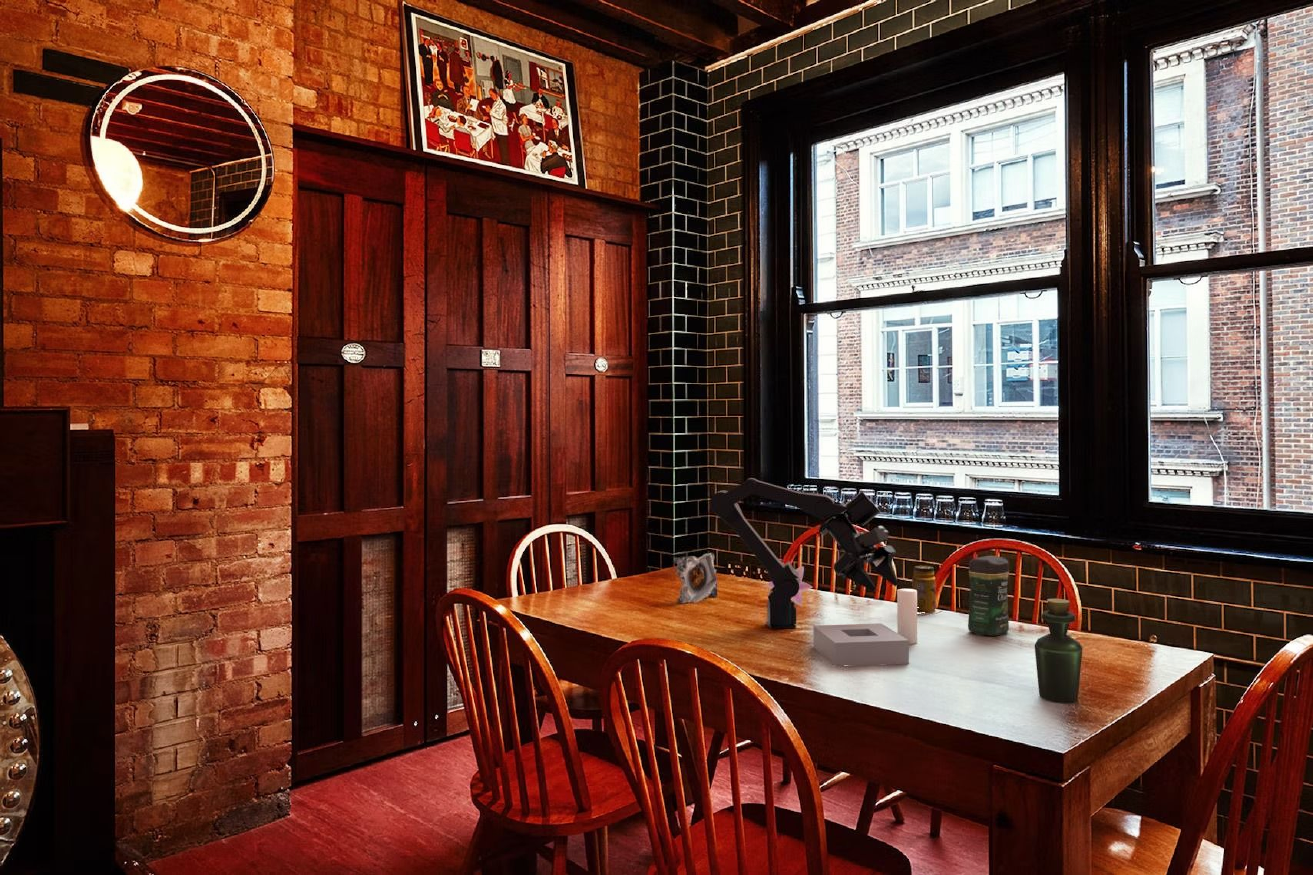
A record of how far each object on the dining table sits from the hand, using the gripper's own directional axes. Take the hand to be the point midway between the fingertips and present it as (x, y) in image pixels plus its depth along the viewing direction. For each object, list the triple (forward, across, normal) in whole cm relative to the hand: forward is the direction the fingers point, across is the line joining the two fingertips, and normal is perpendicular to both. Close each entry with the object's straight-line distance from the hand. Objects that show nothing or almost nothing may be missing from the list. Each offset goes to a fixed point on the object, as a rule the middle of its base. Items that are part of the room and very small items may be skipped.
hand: (886, 587), depth 209 cm
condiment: (+1, +32, +16) cm, 36 cm away
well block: (+12, -18, +5) cm, 22 cm away
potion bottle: (+43, -17, -25) cm, 52 cm away
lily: (-22, +16, +39) cm, 47 cm away
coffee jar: (+19, +22, -1) cm, 29 cm away
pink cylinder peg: (+12, 0, +4) cm, 13 cm away
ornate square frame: (-36, -1, +54) cm, 65 cm away
